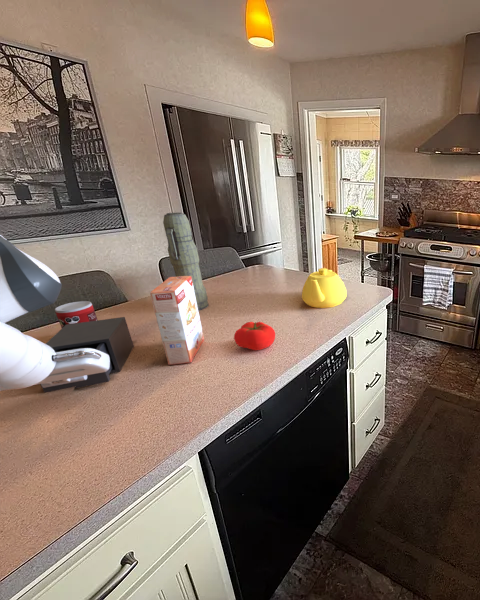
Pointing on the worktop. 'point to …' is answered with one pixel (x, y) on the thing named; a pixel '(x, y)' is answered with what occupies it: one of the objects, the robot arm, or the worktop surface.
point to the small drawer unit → (97, 338)
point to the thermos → (184, 253)
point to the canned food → (75, 313)
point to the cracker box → (178, 319)
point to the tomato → (254, 336)
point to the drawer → (83, 380)
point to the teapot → (323, 289)
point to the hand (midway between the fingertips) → (62, 379)
